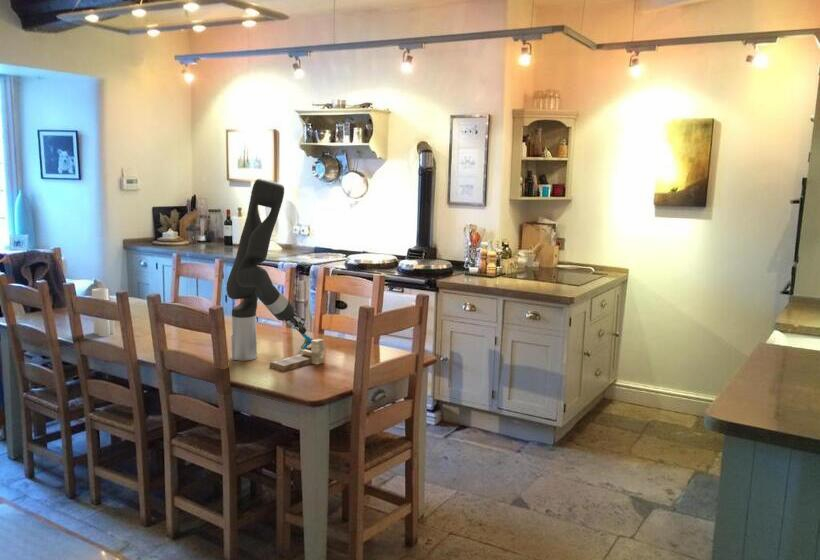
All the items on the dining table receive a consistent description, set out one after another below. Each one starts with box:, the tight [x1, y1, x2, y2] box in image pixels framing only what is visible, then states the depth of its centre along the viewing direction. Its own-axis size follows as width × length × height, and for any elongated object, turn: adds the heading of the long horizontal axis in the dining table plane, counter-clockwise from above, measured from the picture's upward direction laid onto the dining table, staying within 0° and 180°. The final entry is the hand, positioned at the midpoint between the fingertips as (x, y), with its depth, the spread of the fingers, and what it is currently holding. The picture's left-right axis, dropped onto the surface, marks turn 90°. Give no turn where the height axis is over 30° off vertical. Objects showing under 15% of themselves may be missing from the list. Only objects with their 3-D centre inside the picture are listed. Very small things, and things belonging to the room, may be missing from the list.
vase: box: [91, 287, 115, 338], centre depth 296 cm, size 11×7×20 cm, turn 46°
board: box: [269, 353, 312, 372], centre depth 255 cm, size 20×8×2 cm, turn 141°
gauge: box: [300, 338, 325, 365], centre depth 257 cm, size 4×10×9 cm, turn 51°
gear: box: [300, 333, 314, 350], centre depth 276 cm, size 11×6×10 cm
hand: (304, 332), depth 248 cm, fingers closed
